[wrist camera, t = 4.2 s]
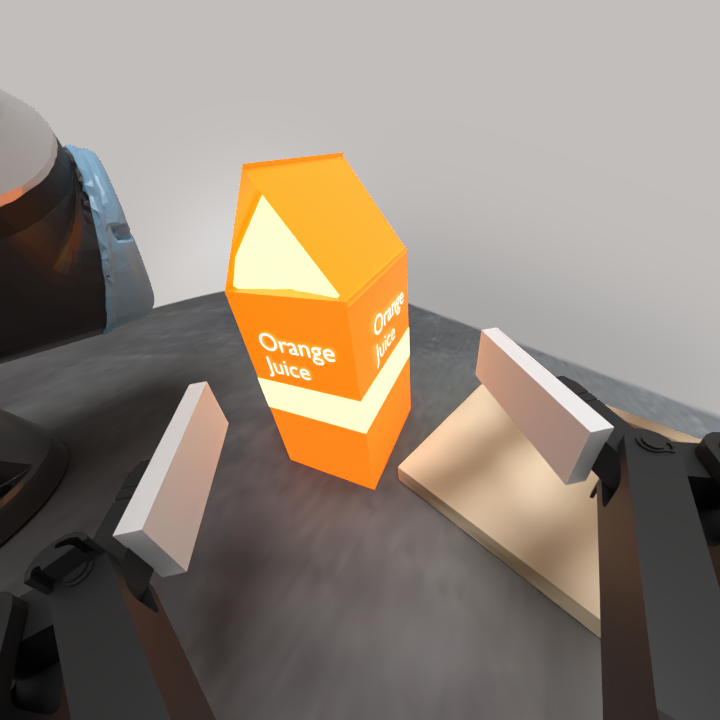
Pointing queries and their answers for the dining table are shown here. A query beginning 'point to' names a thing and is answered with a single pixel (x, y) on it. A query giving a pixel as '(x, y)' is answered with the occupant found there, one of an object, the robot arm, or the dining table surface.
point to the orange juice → (323, 312)
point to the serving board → (517, 500)
